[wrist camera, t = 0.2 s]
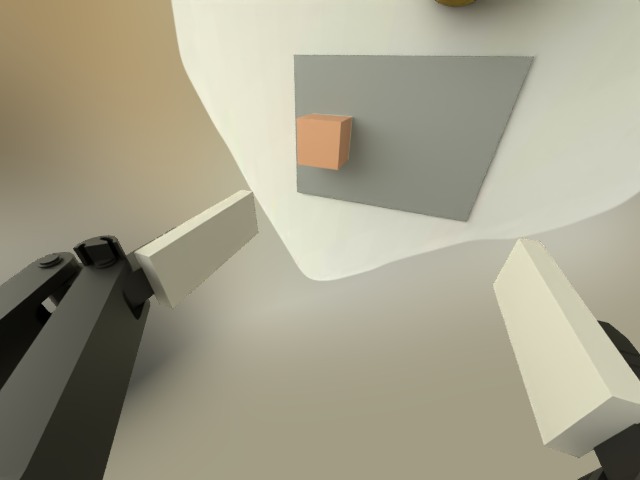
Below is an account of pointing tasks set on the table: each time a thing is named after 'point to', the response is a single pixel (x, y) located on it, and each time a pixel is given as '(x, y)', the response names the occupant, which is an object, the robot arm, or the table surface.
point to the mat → (409, 126)
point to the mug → (455, 2)
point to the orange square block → (323, 140)
